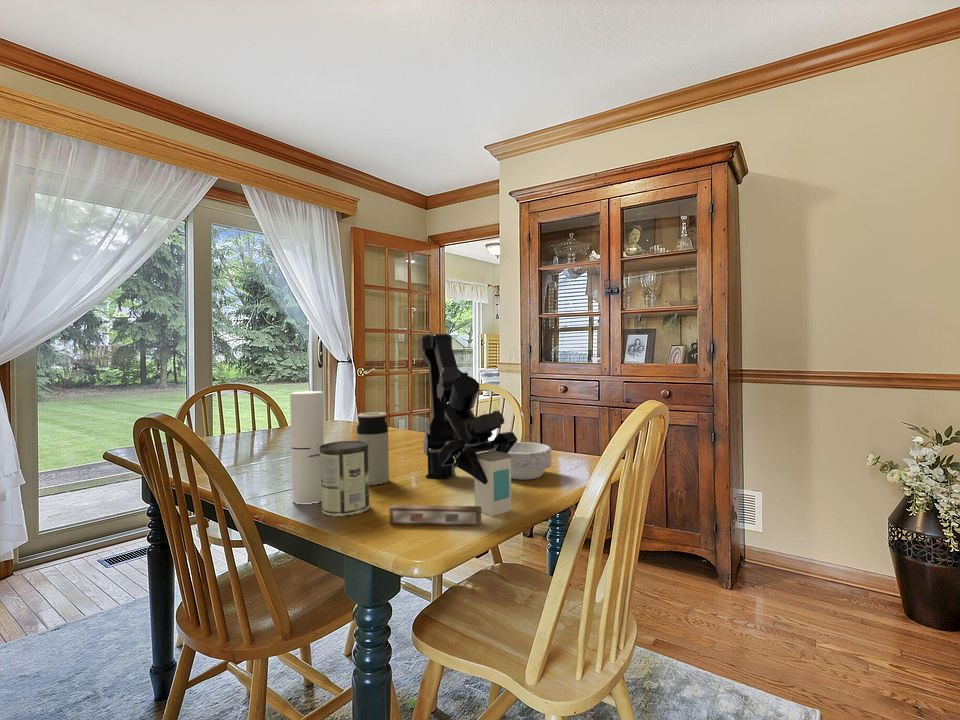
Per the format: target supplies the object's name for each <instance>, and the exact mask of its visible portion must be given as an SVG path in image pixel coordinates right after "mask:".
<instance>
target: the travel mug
mask: <svg viewBox="0 0 960 720" xmlns="http://www.w3.org/2000/svg"><path fill="white" fill-rule="evenodd" d="M386 416H387V412H382V411H380V412H379V411H378V412H377V411H376V412H375V411H374V412H373V411H371V412H369V411H368V412H361V413H358V414H357V417H358V421H359V422H358V424H357V426H356V441H363V442H367V443H368V444H369V445H368V473H369V485H374V486H378V485H377V484H381V485H384V484H386V483H387V482H389V481H390V467H389V463H390V462H389V458H390V457H389V425H388V423H387V421H386ZM383 483H384V484H383Z"/></svg>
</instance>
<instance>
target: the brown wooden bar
mask: <svg viewBox="0 0 960 720" xmlns="http://www.w3.org/2000/svg"><path fill="white" fill-rule="evenodd" d="M389 525H406V526H407V525H410V526H412V525H413V526H417V525H418V526H419V525H420V526H424V525H425V526H456V525H457V526H461V527H463V526H466V527H469V526H471V527H481V526H482V512H481V506H475V505H469V506H468V505H419V504H418V505H417V504H416V505H415V504H411V505H410V504H391V506H390V507H389Z"/></svg>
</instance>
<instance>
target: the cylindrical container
mask: <svg viewBox="0 0 960 720" xmlns="http://www.w3.org/2000/svg"><path fill="white" fill-rule="evenodd" d="M289 398H290V400H289V401H290V405H289V406H290V440H291V441H290V442H291V444H290V445H291V449H290V450H291V482H292V483H291V484H292V485H291V488H292V495H291V496H292V502H293V501H294V502H298V503H312V502H318V501H321V500H322V496H321V464H320V449H319V447H320V446H321V445H324V444H325V435H324V433H325V432H324V431H325V428H324V392H323V391H318V390H315V391H314V390H312V391H311V390H310V391H295V392H290V393H289Z"/></svg>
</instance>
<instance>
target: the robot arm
mask: <svg viewBox="0 0 960 720" xmlns="http://www.w3.org/2000/svg"><path fill="white" fill-rule="evenodd" d="M418 342H419V343H418V347H419V351H421V356H422V360H423V361H424V363H425V364H426V365H427V367H428V376H429V377H428V378H429V393H430V394H429V395H430V408H431V419H430V421H429V423H428V425H427V427H426V432H425V433H424V434H425V435H424V440H423V454H424V455H425V456H427V473H426V475H425V478H429V479H430V478H431V479H445V480H447V479H450V478H451V477H452V476H454V475H455V474H456V468H458V469H460V470H462V471H464V472H465V473H467V474H468V475H470V476H471V477H473V478H474V479H475V478H476V479H477V480H479V481H480V482H482V483H483V484H486V483H487V482H488V480H487V478H486V475H485V473H484V471H483V469H482V468H481V466H480V464H479V462H478V460H477V458H476V453H482V452H488V451H493V450H494V451H499V452H503V453H508V452H509V451H510V449H511V448H512V447H513V445H514V444H515V443H516V442H518V441H519V440H518V438H517V436H516V435H515V433H514V432H513V431H505V432H499V433H497V435H496V436H495V438H494V439H493V440H489V438H492V436H493V431H495V430H497V429H501V427H502V425H503V424H505V419H504V415H503V414H502V413H501V411H500V410H495V411H492V412H490V413H484V414H481V415H478V416H475V414H474V412H473V411H472V409H474V407H475V404H476V400H477V398H478V394H479V391H480V382H478V380H476V379H475V378H474V377H472V376H469V374H468V372H463V371H461V370H460V369H459V368H458V364H457V360H456V357H455V355H454V350H453V336H452V335H451V334H448V333H434V334H433V333H432V334H431V333H429V334H428V333H427V334H423V336H421V337H420V338H419V341H418Z"/></svg>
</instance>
